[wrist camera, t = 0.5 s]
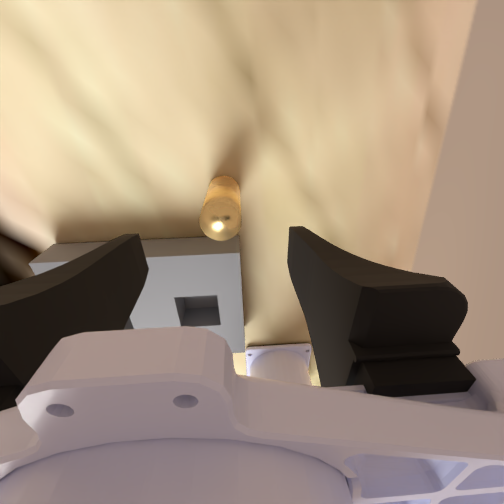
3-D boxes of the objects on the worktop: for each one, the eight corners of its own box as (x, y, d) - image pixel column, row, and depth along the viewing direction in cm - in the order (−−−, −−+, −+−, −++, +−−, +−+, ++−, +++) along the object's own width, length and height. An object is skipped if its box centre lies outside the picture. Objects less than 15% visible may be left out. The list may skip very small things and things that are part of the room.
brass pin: (240, 205, 21) (242, 239, 16) (210, 206, 21) (202, 241, 15) (239, 175, 19) (240, 201, 14) (206, 176, 19) (196, 203, 14)
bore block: (244, 329, 28) (245, 352, 26) (100, 338, 28) (86, 362, 25) (239, 235, 22) (239, 252, 20) (53, 244, 21) (28, 263, 19)
